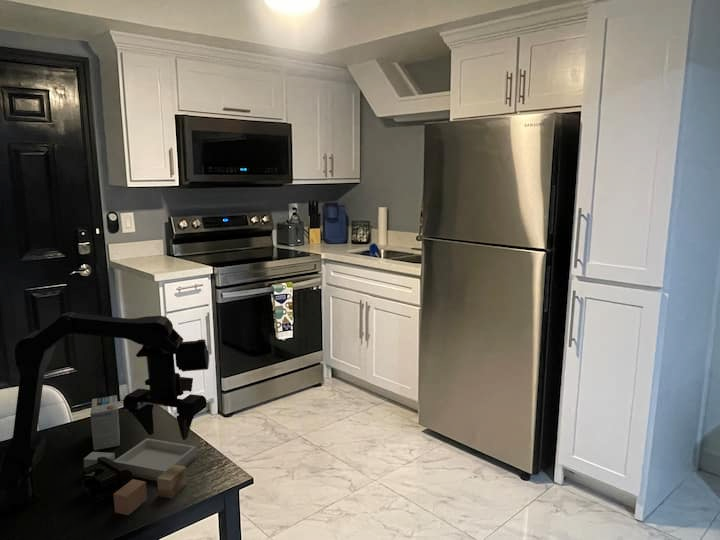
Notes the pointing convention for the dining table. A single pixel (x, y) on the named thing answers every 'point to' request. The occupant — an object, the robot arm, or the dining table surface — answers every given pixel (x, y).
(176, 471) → the maple block
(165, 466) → the tray
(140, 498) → the terracotta block
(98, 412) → the light bulb box
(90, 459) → the pale blue block
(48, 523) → the dining table surface
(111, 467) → the end cap
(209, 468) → the dining table surface
